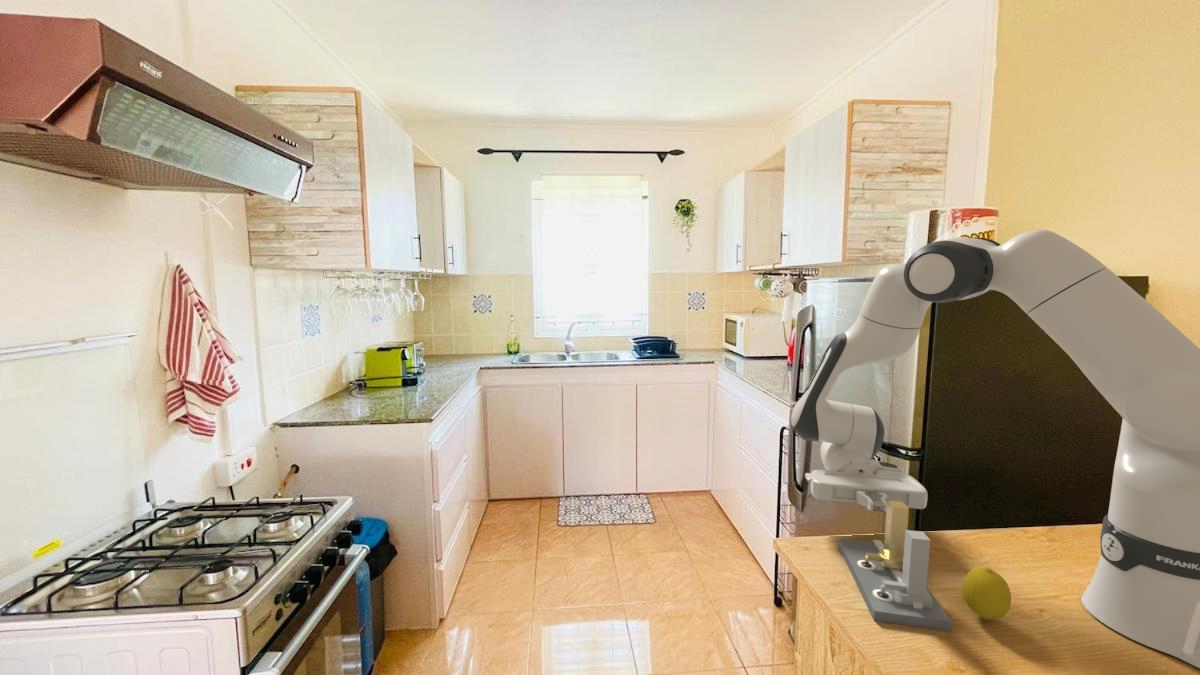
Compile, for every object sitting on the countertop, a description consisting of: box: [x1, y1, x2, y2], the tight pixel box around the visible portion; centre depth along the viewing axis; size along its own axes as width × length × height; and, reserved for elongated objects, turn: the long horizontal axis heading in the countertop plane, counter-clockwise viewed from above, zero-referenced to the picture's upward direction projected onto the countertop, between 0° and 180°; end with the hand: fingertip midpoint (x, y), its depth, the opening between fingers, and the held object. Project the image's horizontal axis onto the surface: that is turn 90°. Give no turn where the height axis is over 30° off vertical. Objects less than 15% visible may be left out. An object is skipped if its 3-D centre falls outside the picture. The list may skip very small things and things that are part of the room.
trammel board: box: [838, 529, 953, 632], centre depth 77 cm, size 10×20×12 cm, turn 167°
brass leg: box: [865, 500, 910, 569], centre depth 79 cm, size 6×3×11 cm, turn 77°
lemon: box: [962, 567, 1012, 620], centre depth 69 cm, size 6×6×8 cm
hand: (878, 507), depth 86 cm, fingers closed
